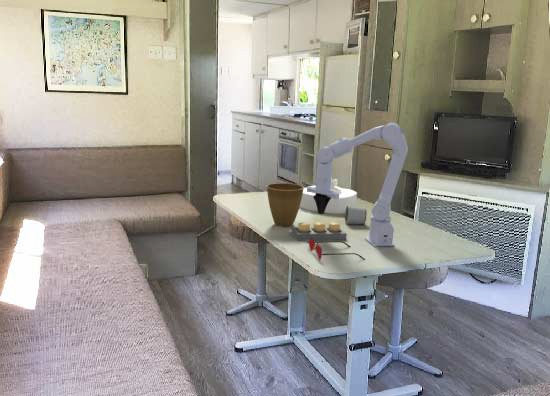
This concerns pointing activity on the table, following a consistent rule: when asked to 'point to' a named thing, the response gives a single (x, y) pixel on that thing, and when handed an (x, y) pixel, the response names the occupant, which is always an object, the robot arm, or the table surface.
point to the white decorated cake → (334, 205)
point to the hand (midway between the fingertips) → (320, 213)
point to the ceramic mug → (355, 215)
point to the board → (318, 234)
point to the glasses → (318, 248)
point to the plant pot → (284, 202)
